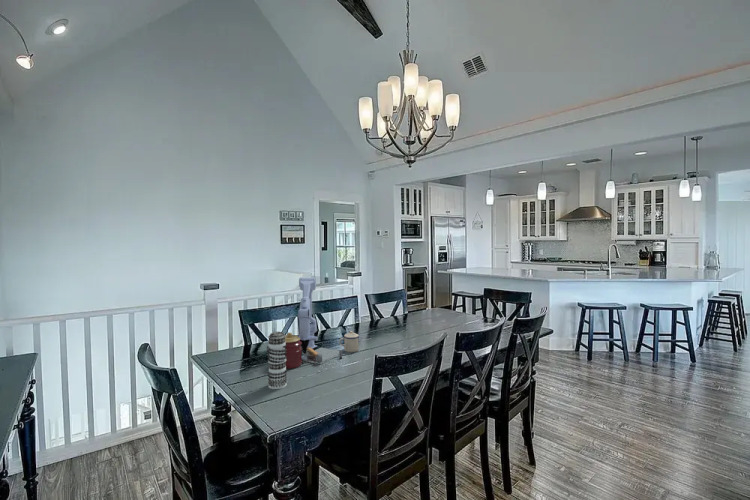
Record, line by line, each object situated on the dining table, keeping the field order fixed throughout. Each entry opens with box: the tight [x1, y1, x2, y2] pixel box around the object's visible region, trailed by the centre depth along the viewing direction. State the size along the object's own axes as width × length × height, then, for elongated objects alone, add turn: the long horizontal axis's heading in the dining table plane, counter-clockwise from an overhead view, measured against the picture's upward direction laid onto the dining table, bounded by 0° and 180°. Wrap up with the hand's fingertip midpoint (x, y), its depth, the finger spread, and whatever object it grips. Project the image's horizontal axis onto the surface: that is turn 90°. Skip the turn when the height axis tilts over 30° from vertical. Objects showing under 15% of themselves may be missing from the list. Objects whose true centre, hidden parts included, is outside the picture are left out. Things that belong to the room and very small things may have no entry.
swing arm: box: [306, 346, 322, 362], centre depth 216 cm, size 20×3×4 cm, turn 30°
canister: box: [285, 332, 303, 369], centre depth 207 cm, size 13×13×18 cm
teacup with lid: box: [338, 330, 360, 353], centre depth 232 cm, size 12×9×12 cm
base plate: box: [302, 347, 343, 365], centre depth 219 cm, size 21×22×4 cm
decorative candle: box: [266, 331, 288, 390], centre depth 179 cm, size 9×9×25 cm
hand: (304, 353), depth 216 cm, fingers closed
